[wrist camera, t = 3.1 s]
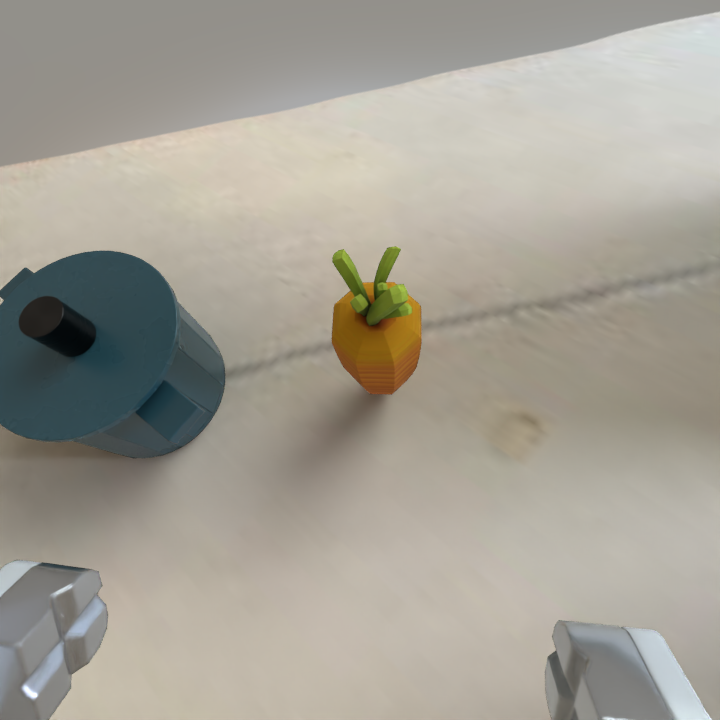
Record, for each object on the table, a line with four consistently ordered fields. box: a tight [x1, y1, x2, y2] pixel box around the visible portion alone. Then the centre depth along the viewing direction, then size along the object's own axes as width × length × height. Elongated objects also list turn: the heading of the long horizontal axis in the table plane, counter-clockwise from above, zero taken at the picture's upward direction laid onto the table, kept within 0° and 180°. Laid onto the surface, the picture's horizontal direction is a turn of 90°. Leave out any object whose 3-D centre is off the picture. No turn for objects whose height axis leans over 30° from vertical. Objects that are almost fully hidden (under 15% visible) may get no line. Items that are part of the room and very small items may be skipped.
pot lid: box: [0, 251, 181, 442], centre depth 25 cm, size 12×12×4 cm
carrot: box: [332, 247, 421, 394], centre depth 26 cm, size 5×5×15 cm
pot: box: [0, 268, 225, 458], centre depth 30 cm, size 11×16×8 cm
